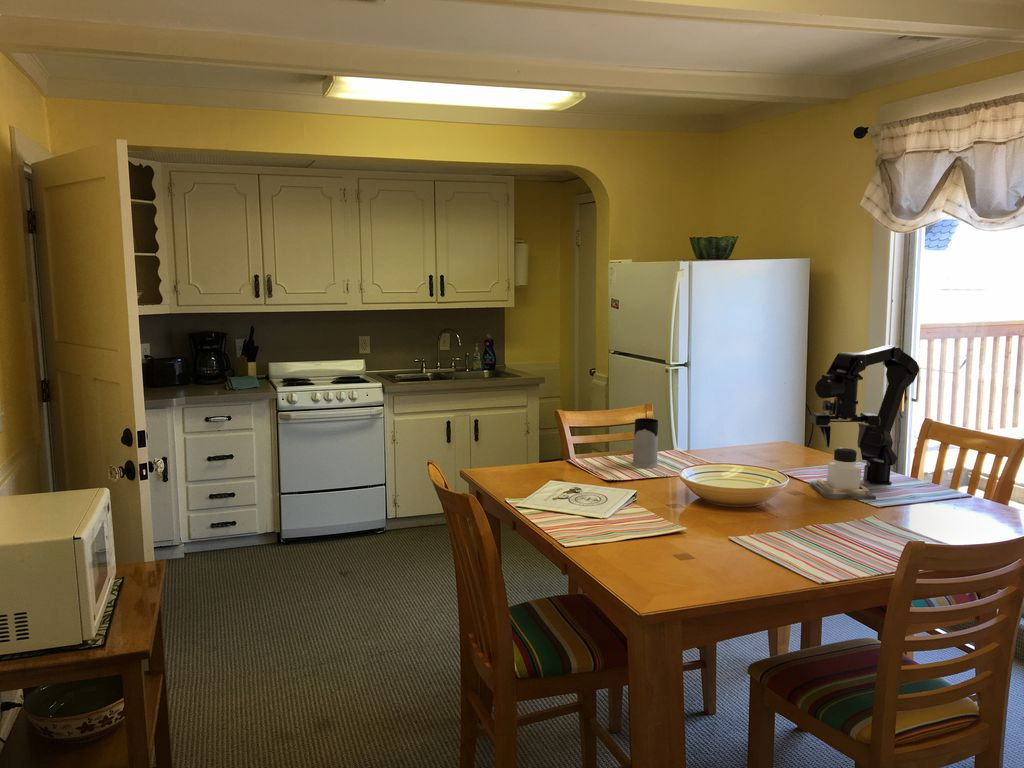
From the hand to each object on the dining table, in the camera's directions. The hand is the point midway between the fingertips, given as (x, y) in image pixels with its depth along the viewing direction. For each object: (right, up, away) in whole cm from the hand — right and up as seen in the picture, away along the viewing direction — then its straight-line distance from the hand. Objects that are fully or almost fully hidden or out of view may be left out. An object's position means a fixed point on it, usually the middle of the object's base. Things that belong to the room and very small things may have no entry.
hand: (843, 447), depth 244 cm
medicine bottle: (-1, -12, -2) cm, 12 cm away
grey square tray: (-1, -13, -2) cm, 13 cm away
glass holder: (-54, -8, +30) cm, 62 cm away
